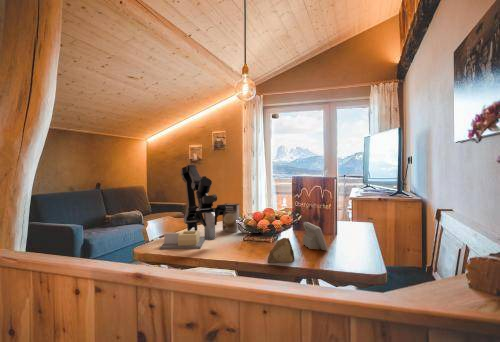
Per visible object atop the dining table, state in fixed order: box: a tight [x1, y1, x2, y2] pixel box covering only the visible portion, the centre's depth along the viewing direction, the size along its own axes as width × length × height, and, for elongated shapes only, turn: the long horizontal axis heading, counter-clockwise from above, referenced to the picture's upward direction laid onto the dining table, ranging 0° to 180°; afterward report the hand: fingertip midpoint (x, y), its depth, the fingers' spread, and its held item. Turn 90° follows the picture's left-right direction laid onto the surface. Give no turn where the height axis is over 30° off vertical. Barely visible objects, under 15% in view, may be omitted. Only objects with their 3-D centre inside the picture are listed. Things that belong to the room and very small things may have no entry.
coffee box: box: [222, 202, 240, 233], centre depth 168 cm, size 9×6×16 cm
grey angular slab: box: [302, 221, 329, 251], centre depth 133 cm, size 16×9×11 cm, turn 1°
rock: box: [267, 237, 295, 263], centre depth 114 cm, size 11×9×10 cm
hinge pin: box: [203, 212, 216, 241], centre depth 133 cm, size 5×5×12 cm
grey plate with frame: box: [159, 228, 206, 250], centre depth 142 cm, size 19×19×6 cm
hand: (210, 225), depth 132 cm, fingers closed on hinge pin, 5 cm apart
